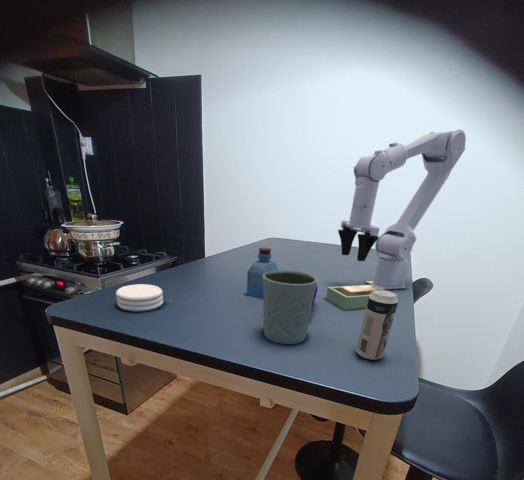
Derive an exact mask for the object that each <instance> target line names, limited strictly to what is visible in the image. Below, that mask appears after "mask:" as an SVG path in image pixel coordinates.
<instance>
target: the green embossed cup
mask: <svg viewBox="0 0 524 480" xmlns="http://www.w3.org/2000/svg"><path fill="white" fill-rule="evenodd" d="M317 282H318V278H317V277H316V276H314V275H313V274H310V273H307V272H304V271H298V270H288V269H287V270H286V269H278V270H276V271H269V272H266V273H264V274H263V292H264V296H263V298H262V299H263V317H264V318H263V335H264V337H265V338H266V339H267V340H269V341H271V342H274V343H276V344H283V345H297V344H301V343H302V342H303V341H305V339H306V337H307V333H308V328H309V322H310V318H311V314H312V313H311V312H312V309H313V307H312V300H313V296H314V293H315V288H316V285H317V284H318V283H317Z"/></svg>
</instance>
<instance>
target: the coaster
mask: <svg viewBox="0 0 524 480" xmlns="http://www.w3.org/2000/svg"><path fill="white" fill-rule="evenodd" d="M163 293H164V292H163V289H162V288H161V287H159V286H157V285H153V284H146V283H137V284H128V285H125V286H124V285H123V286H121V287H119V288H118V289H117V290H116V291H115V295H116V301H117V302H116V303H117V306H118V307H119V308H120V309H121V310H124V311H127V312H137V313H138V312H148V311H153V310H156V309H158V308H160V307H161V306H163V304H164V295H163Z"/></svg>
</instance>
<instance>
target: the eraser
mask: <svg viewBox="0 0 524 480" xmlns="http://www.w3.org/2000/svg"><path fill="white" fill-rule="evenodd" d="M364 285H365V286H357V285H346V286H347V287H341V288H340V293H342V294H344V295H346V296H359V295H370V294H371V293H372V292H373V290H377V289H378V288H376V287H374V286H372V285H371V284H364ZM378 290H380V289H378Z"/></svg>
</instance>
